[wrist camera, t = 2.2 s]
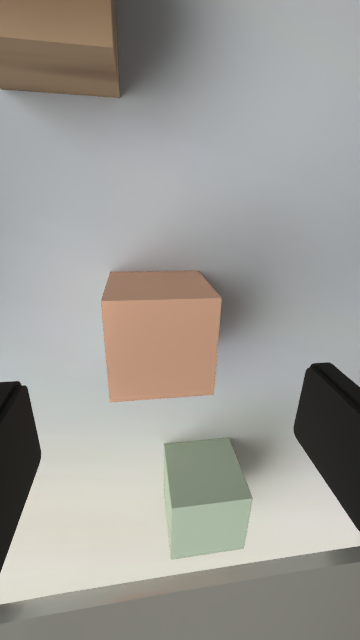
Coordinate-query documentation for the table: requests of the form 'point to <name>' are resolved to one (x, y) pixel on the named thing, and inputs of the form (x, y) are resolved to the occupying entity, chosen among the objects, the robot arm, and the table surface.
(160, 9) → the table surface
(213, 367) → the terracotta block
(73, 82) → the walnut block
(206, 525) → the sage block
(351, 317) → the table surface
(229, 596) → the robot arm
